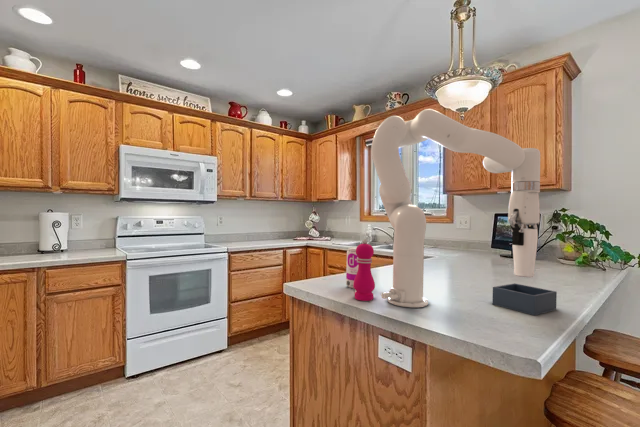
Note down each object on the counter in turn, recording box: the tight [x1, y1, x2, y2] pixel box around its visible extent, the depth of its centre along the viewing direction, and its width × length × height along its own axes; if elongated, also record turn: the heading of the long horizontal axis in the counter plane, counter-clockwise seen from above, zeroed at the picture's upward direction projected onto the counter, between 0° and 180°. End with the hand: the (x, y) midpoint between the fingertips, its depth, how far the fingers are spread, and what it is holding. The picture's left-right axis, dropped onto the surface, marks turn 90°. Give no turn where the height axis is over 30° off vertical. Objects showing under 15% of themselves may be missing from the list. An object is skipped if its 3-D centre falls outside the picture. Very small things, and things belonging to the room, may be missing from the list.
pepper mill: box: [353, 238, 376, 302], centre depth 106 cm, size 7×7×20 cm
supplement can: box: [345, 246, 358, 289], centre depth 123 cm, size 8×8×15 cm
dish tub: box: [491, 283, 558, 316], centre depth 99 cm, size 13×13×6 cm
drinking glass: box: [511, 227, 539, 278], centre depth 99 cm, size 7×7×15 cm
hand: (524, 244), depth 99 cm, fingers closed on drinking glass, 6 cm apart
